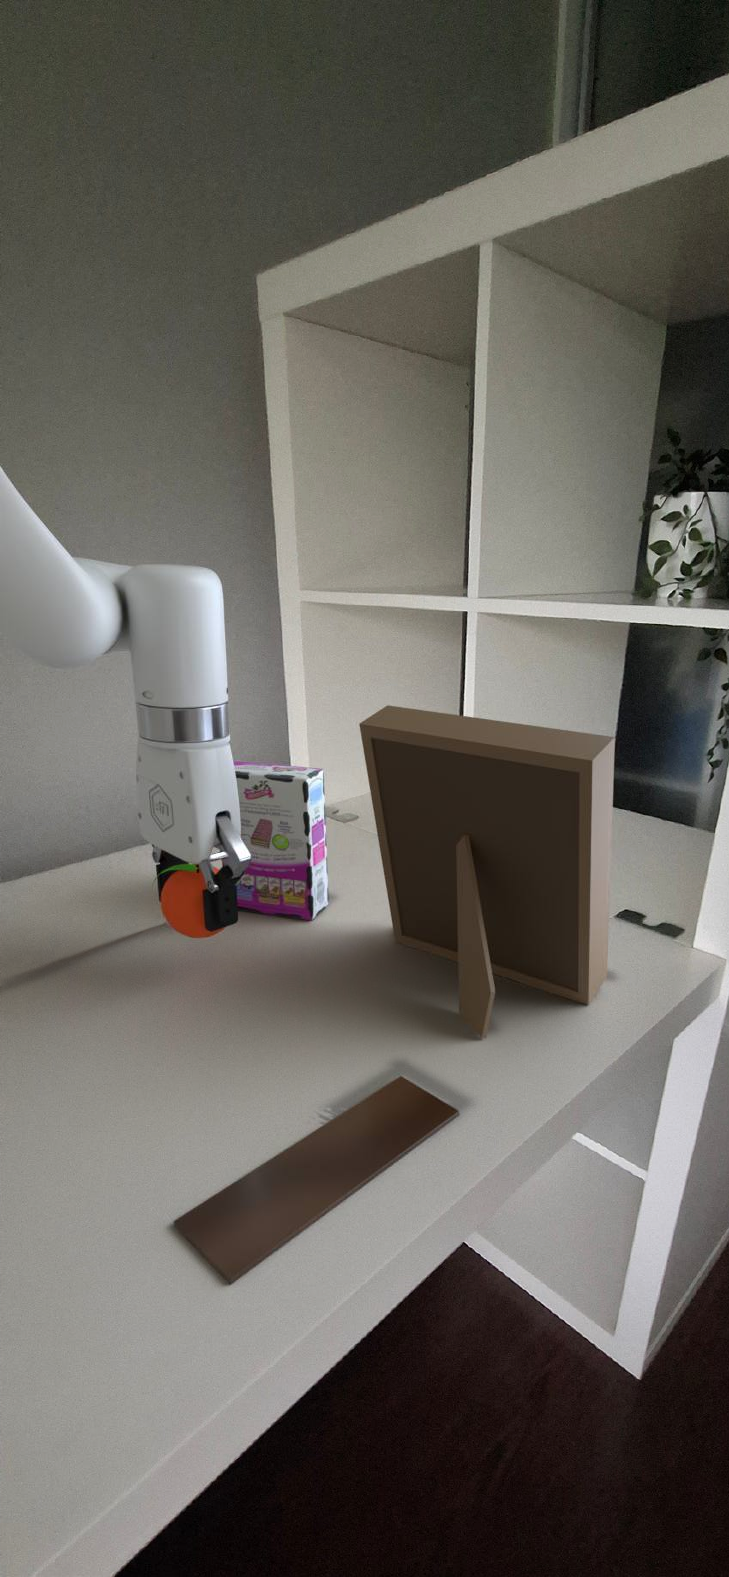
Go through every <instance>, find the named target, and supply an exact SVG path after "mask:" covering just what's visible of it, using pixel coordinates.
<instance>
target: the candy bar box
mask: <svg viewBox="0 0 729 1577" xmlns="http://www.w3.org/2000/svg"><path fill="white" fill-rule="evenodd" d="M233 763H234V768H235V774H236V781H237V789H238V798H239V807H240V821H241V839H242V841H243V843H244V844H245V846H246V848H247V849H248V851H249V853H250V855H251V862H250V863H249V865H248V866H247V868H246V869H245V872H244V875H243V876H242V877H241V878H240V884H239V885H237V903H238V911H242V912H250V913H256V914H257V913H258V914H265V915H271V916H278V917H285V918H293V919H299V920H306V921H314V920H315V919H316V918H317V917H318V916H319V915H320V914H321V913H322V912H323V911H324V910H326V909H327V907H328V906H329V904H330V899H329V898H330V897H329V896H330V895H329V877H328V876H329V875H328V874H329V872H328V850H327V849H328V847H327V846H328V845H327V825H326V824H327V822H326V803H325V802H326V798H325V797H326V796H325V770H324V768H319V767H307V766H298V765H284V764H271V763H261V762H247V761H236V760H235V761H233ZM221 866H222V867H223V863H222V862H221Z"/></svg>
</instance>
